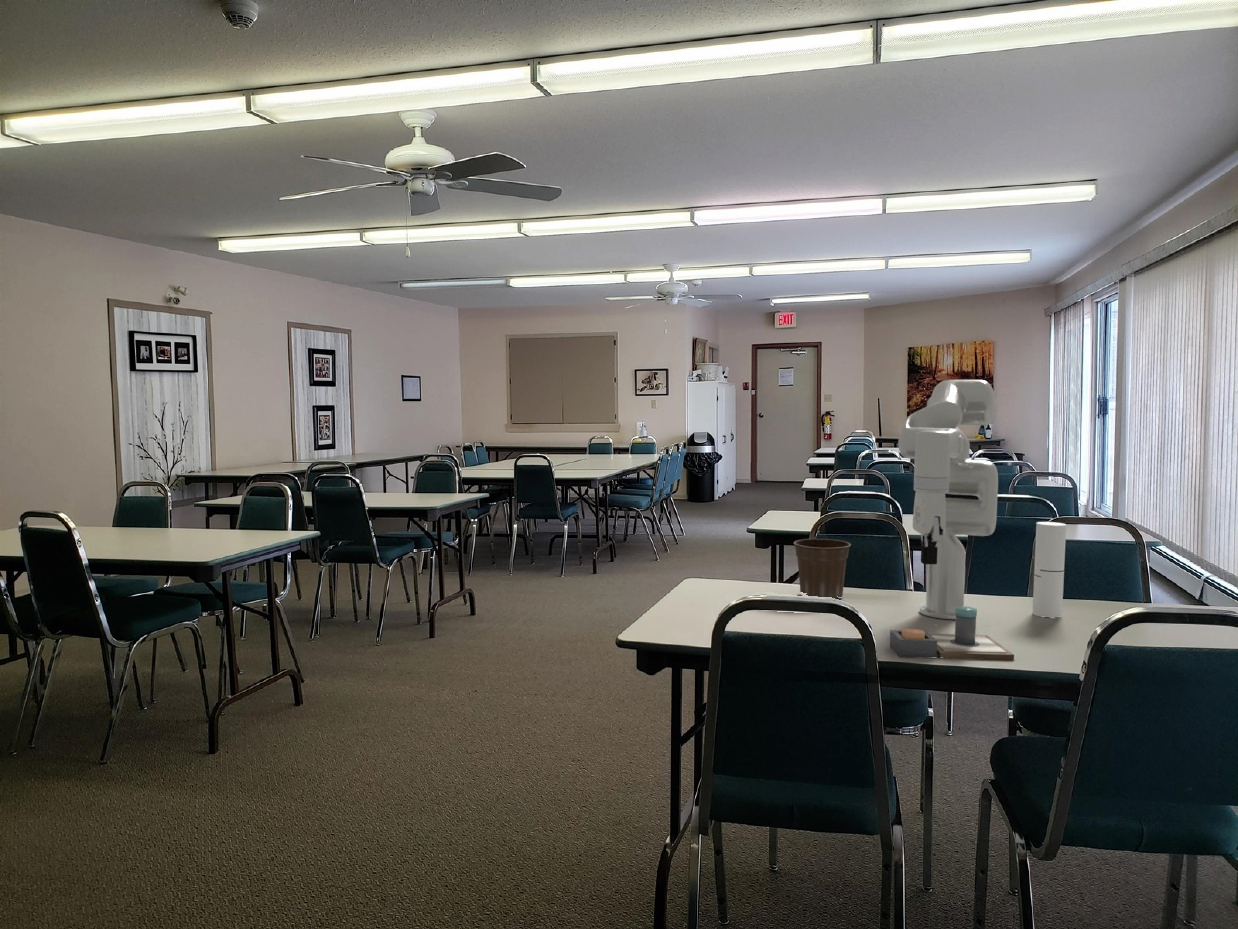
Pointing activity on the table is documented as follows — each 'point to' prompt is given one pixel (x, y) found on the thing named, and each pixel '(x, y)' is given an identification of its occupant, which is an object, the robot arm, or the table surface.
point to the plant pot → (822, 566)
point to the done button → (913, 633)
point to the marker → (965, 625)
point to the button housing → (913, 645)
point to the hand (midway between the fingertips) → (928, 563)
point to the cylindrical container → (1049, 569)
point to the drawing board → (971, 648)
